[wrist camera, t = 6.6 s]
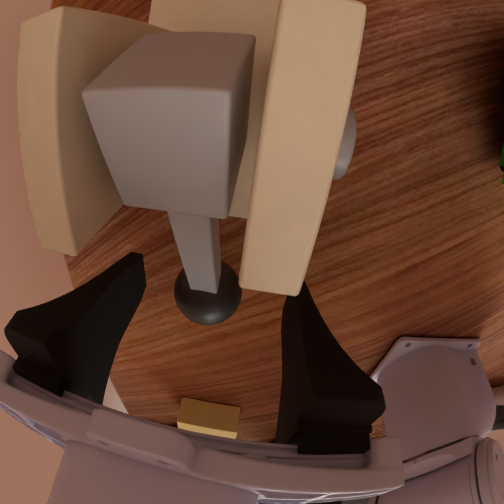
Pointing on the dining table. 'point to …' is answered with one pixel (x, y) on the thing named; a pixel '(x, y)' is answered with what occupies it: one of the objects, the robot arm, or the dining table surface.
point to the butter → (208, 418)
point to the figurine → (499, 408)
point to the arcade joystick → (180, 147)
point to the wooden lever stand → (258, 133)
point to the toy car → (503, 106)
